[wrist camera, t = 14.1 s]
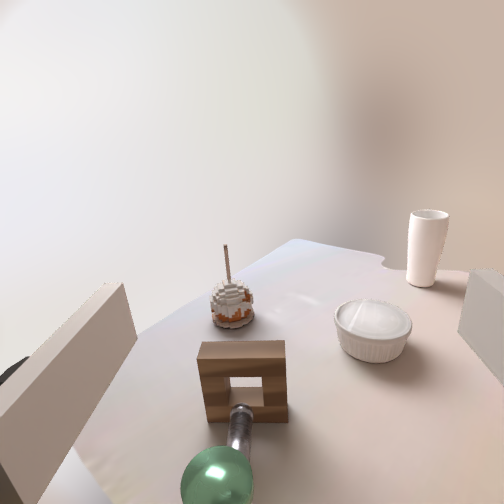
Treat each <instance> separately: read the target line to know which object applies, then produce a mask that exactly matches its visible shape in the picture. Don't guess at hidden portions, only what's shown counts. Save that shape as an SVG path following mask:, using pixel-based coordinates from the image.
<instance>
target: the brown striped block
mask: <svg viewBox="0 0 504 504" xmlns="http://www.w3.org/2000/svg"><path fill="white" fill-rule="evenodd" d="M197 364H198V370H199V375H200V381H201V387H202V392H203V398H204V404H205V410H206V415H207V421H208V422H230V412H231V409H232V408H233V406H234V405H236V404H237V403H246V404H248V405H249V406H250V407H251V408H252V410H253V413H254V419H253V422H252V423H288V408H287V383H286V358H285V340H276V341H221V342H202V344H201V347H200V350H199V353H198V356H197ZM230 377H262V387H231V385H230Z"/></svg>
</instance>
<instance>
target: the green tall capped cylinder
mask: <svg viewBox="0 0 504 504" xmlns="http://www.w3.org/2000/svg"><path fill="white" fill-rule="evenodd" d="M253 419H254V413H253V410H252V408H251V407H250V406H249V405H248V404H246V403H237V404H236V405H234V406H233V408H232V409H231V412H230V423H229V430H228V437H227V444H226V446H214V447H210V448H208V449H205V450H204V451H202V452H200V453H199V454H198V455H196V456H195V457H194V458H193V459H192V460H191V461H190V463H189V464H188V466H187V467H186V469H185V471H184V473H183V476H182V480H181V488H180V489H181V497H182V501H183V504H251V503H252V499H253V493H254V485H253V476H252V470H251V466H250V450H251V435H252V422H253Z"/></svg>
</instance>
